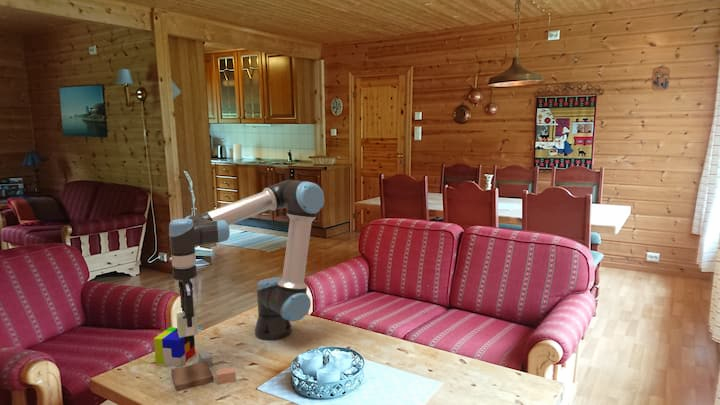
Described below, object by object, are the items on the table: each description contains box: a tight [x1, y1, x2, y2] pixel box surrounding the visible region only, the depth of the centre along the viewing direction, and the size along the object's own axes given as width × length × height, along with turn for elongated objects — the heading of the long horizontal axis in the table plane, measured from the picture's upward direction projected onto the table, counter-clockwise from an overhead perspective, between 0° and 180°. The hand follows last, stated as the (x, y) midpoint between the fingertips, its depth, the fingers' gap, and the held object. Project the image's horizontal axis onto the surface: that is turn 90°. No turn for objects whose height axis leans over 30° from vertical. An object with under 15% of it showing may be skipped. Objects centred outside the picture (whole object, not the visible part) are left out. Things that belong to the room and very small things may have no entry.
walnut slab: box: [170, 361, 214, 392], centre depth 165 cm, size 12×12×2 cm
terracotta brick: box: [216, 366, 237, 385], centre depth 164 cm, size 6×4×4 cm, turn 109°
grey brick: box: [197, 349, 213, 367], centre depth 176 cm, size 6×4×4 cm, turn 31°
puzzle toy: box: [153, 326, 196, 367], centre depth 179 cm, size 10×10×10 cm
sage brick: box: [176, 310, 199, 338], centre depth 162 cm, size 6×4×7 cm, turn 118°
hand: (188, 332), depth 163 cm, fingers closed on sage brick, 4 cm apart
